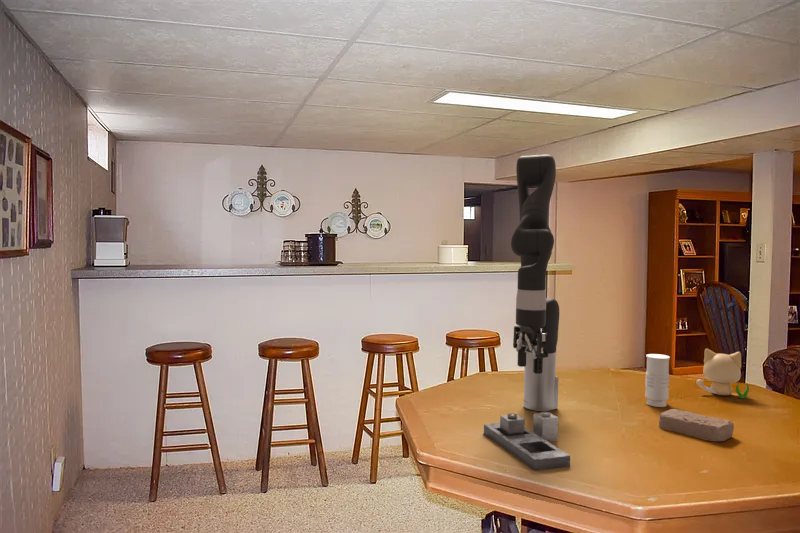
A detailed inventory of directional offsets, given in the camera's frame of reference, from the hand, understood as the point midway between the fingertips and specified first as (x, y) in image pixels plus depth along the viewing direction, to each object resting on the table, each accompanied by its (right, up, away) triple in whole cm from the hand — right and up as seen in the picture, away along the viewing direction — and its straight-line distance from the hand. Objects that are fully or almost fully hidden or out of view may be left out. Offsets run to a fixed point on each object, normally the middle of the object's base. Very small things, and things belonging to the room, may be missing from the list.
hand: (529, 369), depth 157 cm
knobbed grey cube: (-5, -18, -2) cm, 18 cm away
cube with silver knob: (+4, -18, 0) cm, 18 cm away
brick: (+45, -18, +6) cm, 49 cm away
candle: (+46, -16, +32) cm, 58 cm away
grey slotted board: (-3, -18, -8) cm, 20 cm away
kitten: (+73, -16, +44) cm, 86 cm away
